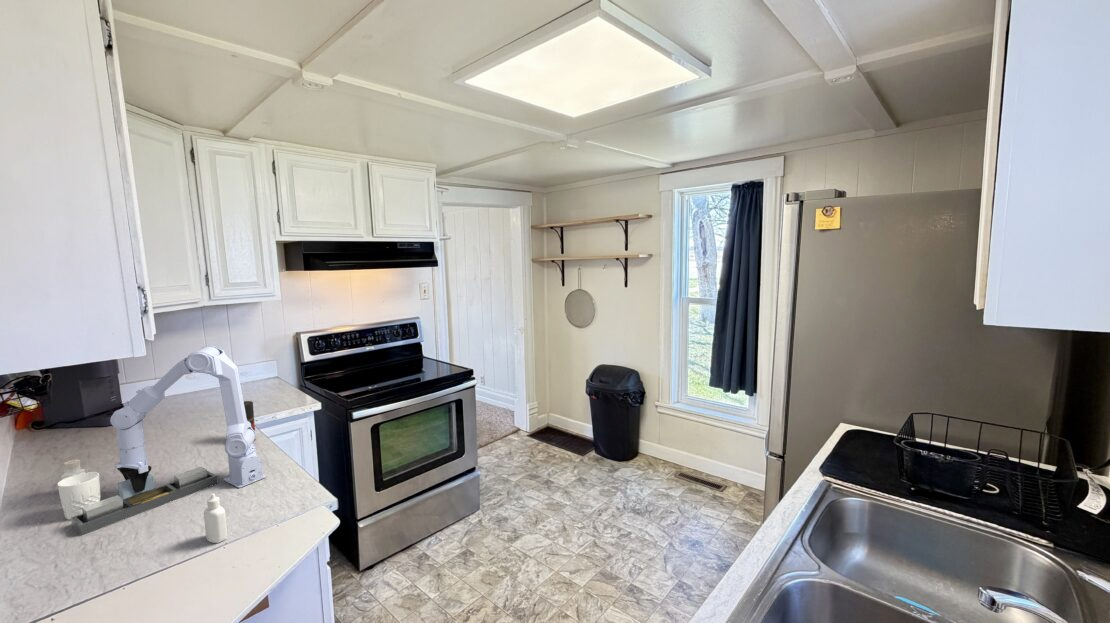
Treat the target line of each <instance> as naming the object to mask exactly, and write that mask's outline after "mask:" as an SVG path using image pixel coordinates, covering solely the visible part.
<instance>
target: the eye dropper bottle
mask: <svg viewBox="0 0 1110 623" xmlns="http://www.w3.org/2000/svg"><path fill="white" fill-rule="evenodd" d="M206 502H207V508H205V509H204V511H203V520H204V529H205V530H204V531H205V539H206V540H207V541H208V542H209V543H214V544H219V543H222V542H223V541H225V540H227V539H228V528H227V527H228V526H227V519H226V518H227V516H226V510H225V508H224V507H223V506H221V503H220V502H221V501H220V496H216V494H215V493H211V494H210V498H209V499H207V501H206Z"/></svg>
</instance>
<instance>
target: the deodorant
mask: <svg viewBox="0 0 1110 623" xmlns="http://www.w3.org/2000/svg"><path fill="white" fill-rule="evenodd" d="M243 401H244V400H243ZM244 407H245V412H246V418H247V421H249V422H250V423H251V427H252V429H253V430H254V431H255V432H256V425H255V414H254V402H253V401H252V400H245V401H244ZM256 439H257V438H256ZM256 439H255V440H254V442H256V441H257V440H256Z"/></svg>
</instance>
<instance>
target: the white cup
mask: <svg viewBox="0 0 1110 623" xmlns="http://www.w3.org/2000/svg"><path fill="white" fill-rule="evenodd" d="M56 485H57V486H56V487H57V489H58V490H57V491H58V493H59V494H58V495H59V499H60V503H61V506H62V510H63V514H64V518H65V519H66V520H70V521H71V517H74V516H77V515H80V514H83V512H82V507H84V506H87V505H90V504H93V503H96V502H99V501H101V482H100V473H99V472H96V471H90V472H89V471H88V472H85V473H81V474H77V475H73V476H70V477H67V478H65V479H63V480H61V479H60V481H58V482H57V484H56Z"/></svg>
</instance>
